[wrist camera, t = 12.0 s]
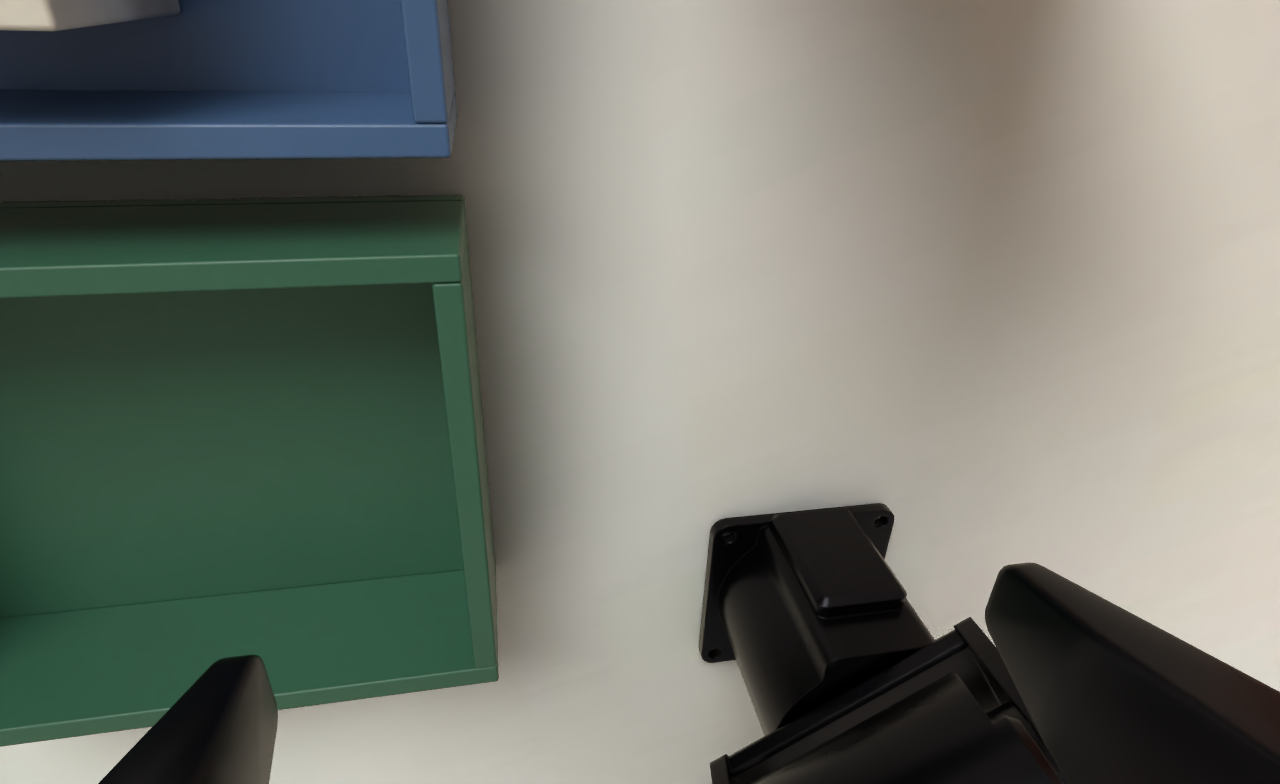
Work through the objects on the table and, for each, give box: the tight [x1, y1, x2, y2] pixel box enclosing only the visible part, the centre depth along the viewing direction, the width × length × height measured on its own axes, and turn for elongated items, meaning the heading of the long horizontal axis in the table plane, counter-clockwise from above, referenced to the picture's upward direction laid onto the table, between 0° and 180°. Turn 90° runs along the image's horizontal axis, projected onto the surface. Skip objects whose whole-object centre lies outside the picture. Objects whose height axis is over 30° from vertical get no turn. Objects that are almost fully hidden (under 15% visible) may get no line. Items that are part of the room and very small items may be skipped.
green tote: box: [0, 195, 499, 746], centre depth 18 cm, size 12×15×4 cm
